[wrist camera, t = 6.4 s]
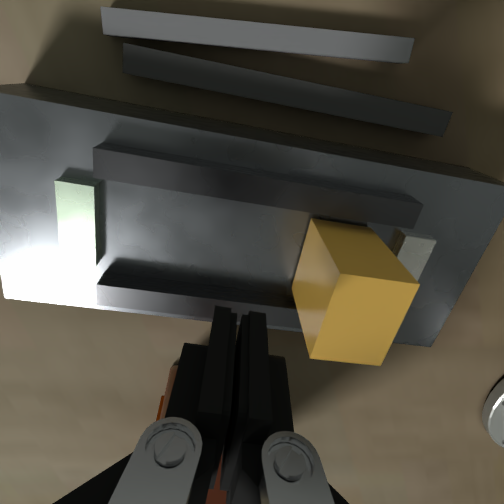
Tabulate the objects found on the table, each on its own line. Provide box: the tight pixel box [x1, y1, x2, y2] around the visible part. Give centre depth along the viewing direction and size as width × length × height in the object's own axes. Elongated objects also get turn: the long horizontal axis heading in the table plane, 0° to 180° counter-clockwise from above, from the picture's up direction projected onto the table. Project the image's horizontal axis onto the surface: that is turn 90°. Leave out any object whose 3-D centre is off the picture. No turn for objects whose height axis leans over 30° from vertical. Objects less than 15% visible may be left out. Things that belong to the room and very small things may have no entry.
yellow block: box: [292, 218, 420, 366], centre depth 15 cm, size 3×4×5 cm
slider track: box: [0, 83, 504, 347], centre depth 18 cm, size 24×10×5 cm, turn 79°
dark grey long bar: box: [123, 43, 453, 137], centre depth 17 cm, size 16×1×1 cm, turn 79°
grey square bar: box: [101, 7, 415, 63], centre depth 16 cm, size 14×1×1 cm, turn 85°
